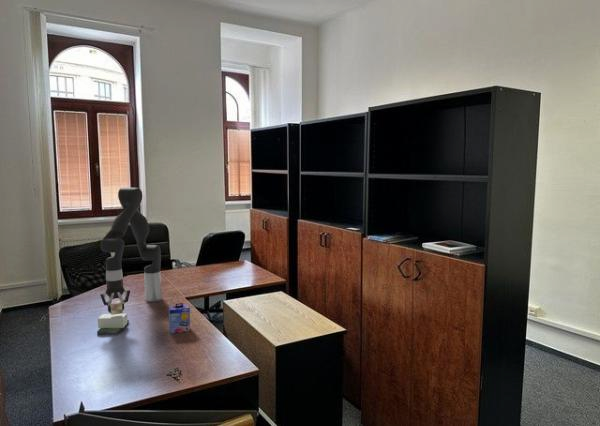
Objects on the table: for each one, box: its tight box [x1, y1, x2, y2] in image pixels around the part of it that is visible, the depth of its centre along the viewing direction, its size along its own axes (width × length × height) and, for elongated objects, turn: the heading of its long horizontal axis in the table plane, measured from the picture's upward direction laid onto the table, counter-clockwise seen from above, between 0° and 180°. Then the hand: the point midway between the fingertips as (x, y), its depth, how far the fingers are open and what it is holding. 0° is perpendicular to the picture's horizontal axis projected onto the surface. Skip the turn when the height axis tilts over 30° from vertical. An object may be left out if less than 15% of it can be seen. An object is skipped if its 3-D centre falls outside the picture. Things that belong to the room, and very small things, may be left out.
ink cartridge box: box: [168, 302, 191, 334], centre depth 209 cm, size 10×6×14 cm, turn 113°
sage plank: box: [97, 313, 128, 329], centre depth 211 cm, size 12×6×5 cm, turn 93°
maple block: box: [110, 300, 123, 315], centre depth 209 cm, size 5×5×5 cm
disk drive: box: [96, 319, 130, 336], centre depth 211 cm, size 10×3×15 cm
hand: (116, 311), depth 210 cm, fingers closed on maple block, 4 cm apart
